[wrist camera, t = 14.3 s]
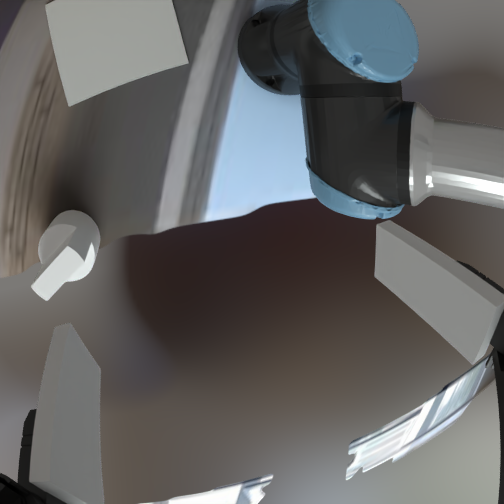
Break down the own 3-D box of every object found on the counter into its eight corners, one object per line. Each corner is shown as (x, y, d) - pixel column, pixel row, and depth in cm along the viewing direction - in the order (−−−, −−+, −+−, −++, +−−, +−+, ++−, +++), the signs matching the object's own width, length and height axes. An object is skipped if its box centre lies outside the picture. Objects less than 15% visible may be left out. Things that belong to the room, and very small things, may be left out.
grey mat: (162, -35, 29) (162, -37, 29) (188, 63, 38) (188, 62, 38) (46, 6, 26) (45, 5, 26) (69, 106, 35) (68, 106, 35)
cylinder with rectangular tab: (73, 198, 41) (52, 227, 31) (111, 238, 46) (102, 277, 36) (38, 235, 42) (14, 272, 32) (76, 272, 46) (62, 315, 36)
